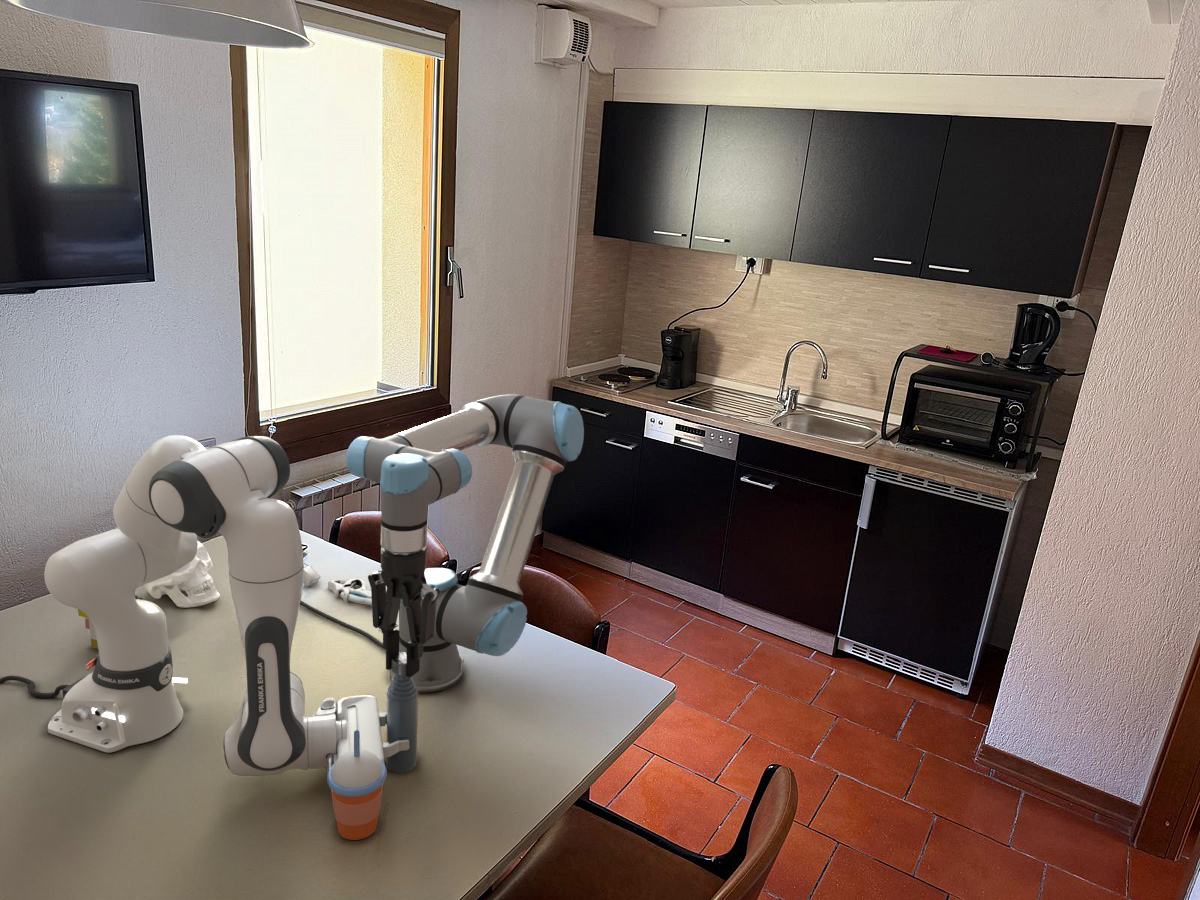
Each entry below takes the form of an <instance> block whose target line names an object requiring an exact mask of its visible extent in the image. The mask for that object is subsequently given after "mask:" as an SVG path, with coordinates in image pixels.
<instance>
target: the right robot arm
mask: <svg viewBox="0 0 1200 900" xmlns="http://www.w3.org/2000/svg"><path fill="white" fill-rule="evenodd" d="M584 437H585V427H584V420H583V415H582V414H581V412H580V410H578V408H577V407H576V406H574V405H570V404H566V403H562V402H561V401H553V400H548V399H542V398H536V397H532V396H526V395H523V394H518V393H517V394H516V393H507V394H499V395H493V396H489V397H485V398H481V399H477V400H474V401H471V402H469V403H466V404H465V405H463V406H462V407H461V409H460V410H459V411H458V412H455V413H451V414H449V415H447V416H443V417H440V418H437V419H435V420H432V421H429V422H427V423H423V424H421V425H418V426H414V427H412V428H409V429H407V430H404V431H401V432H398V433H395V434H393V435H389V436H386V437H384V438H377V437H374V436H366V435H365V436H364V435H362V436H358V437H356V438H355V439H354V440H353V441H352V442H351V443H350V445H349V446H348V448H347V450H346V456H345V458H346V461H345V464H346V465H345V466H346V468H347V470H348V471H349V473H350V474H351V475H353V476H355V477H358V478H360V479H364V480H365V481H369V482H374V483H379V487H380V511H381V512H380V513H381V516H380V540H379V541H380V547H381V548H380V569H381V570H380V569H377V570H376V571H374V572H372V573H370V574H368V575H367V580H368V583H369V585H370V591H371V597H372V606H371V614H372V615H371V617H372V626H373V627H374V628H375V629H379V630H380V631H381V634H382V641H380V640H379V639H377V638H376V637H375V636H373V635H372V634H370V633H368V632H367V631H365V630H364V629H363V630H362V629H361V628H359V627H357V626H354V625H351V624H350V623H347V622H345V621H342V620H341V619H338V618H336V617H333V616H332V615H329V614H327V613H325V612H323V611H321V610H319V609H318V608H315V607H313V606H312V605H310V604H308V603H306V602H305V601H303V600H301V601H300V607H302V608H305V609H307V610H308V611H310V612H312V613H314V614H315V615H318V616H320V617H321V618H323V619H326V620H327V621H330V622H331V623H335V624H337V625H339V626H341V627H343V628H346V629H348V630H350V631H353V632H354V633H357V634H360V635H361V636H363V637H365V638H367V639H368V640H369V641H371V642H372V643H374V644H375V645H376V646H378V647H379V648H381V649H383V650H385V670H387V671H389V679H390V681H392V680H393V678H394V676H395V673H393V672H392V669H391V661H392V657H393V655H395V654H397V653H401V652H407V662H406V677H409V678H410V677H412V679H413V680H414V682H415V685H416V686H417V690H418V694H430V693H431V694H432V693H438V692H441V691H445V690H447V689H450V688H451V687H453V686H455V685H456V684H457V683H458V682H459V681H460V680H461V679H462V676H463V672H464V663H465V657H463V658H462V657H461V656H460V653H459V649H458V646H459V647H461V648H466V649H469V650H472V651H475V652H476V653H478V654H482V655H483V654H485V655H488V656H492V657H501V656H503V655H505V654H507V653H509V652H510V651H511V649H512V648H514V646H516V644H517V643H518V642H519V640H520V638H521V637H522V634H523V632H524V629H525V627H526V625H527V624H526V623H527V620H528V618H527V615H528V608H527V606H526V604H524V603H523V601H522V600H523V596H524V592H523V590H522V588H521V586H520V582H521V580H522V577H523V573H524V570H525V568H526V565H527V560H528V558H529V555H530V551H531V549H532V545H533V542H534V540H535V537H536V533H537V530H538V527H539V524H540V521H541V518H542V515H543V512H544V509H545V505H546V502H547V500H548V496H549V493H550V491H551V487H552V484H553V480H554V478H555V476H556V475H558V474H559V473H561V472H563V471H564V470H565V468H566V463H567V462H573V461H576V460H577V459H578V457H579V456H580V454H581V453H582V449H583V444H584V439H585V438H584ZM488 445H495V446H497V445H498V446H502V447H506V448H511V449H512V450H511V453H510V454H511V455H512V458H513V459H514V463H515V464H514V467H513V469H512V473H511V476H510V478H509V481H508V484H507V488H506V489H505V494H504V496H503V499H502V502H501V505H500V508H499V511H498V515H497V517H496V520H495V523H494V526H493V530H492V532H491V535H490V538H489V541H488V543H487V547H486V550H485V552H484V555H483V559H482V561H481V564H480V567H479V570H478V571H477V572H476V573H474V574H472V575H471V576H469V577H468V580H467V583H466V585H462V584H459V583H458V580H459V579H458V575H457V574H456V572H455V571H454V570H452V569H450V568H445V567H428V568H427V566H428V565H427V563H428V548H427V545H428V511H429V506H430V505H432V504H434V503H436V502H438V501H441V500H442V499H445V498H446V497H449V496H451V495H455V494H457V493H459V491H460V490H461V489H463V488H464V487H466V486H467V485H468V484H469V483H470V482H471V480H472V476H473V467H472V463H471V461H470V459H469V457H468V456H467V455H466V453H464V452H463V450H466V449H468V448H471V447H477V448H482V447H486V446H488ZM397 621H398V624H397ZM397 627H398V629H396V628H397Z"/></svg>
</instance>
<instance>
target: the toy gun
mask: <svg viewBox="0 0 1200 900" xmlns="http://www.w3.org/2000/svg"><path fill="white" fill-rule="evenodd" d="M356 586H358V588H356V589H355V588H354V587H356ZM359 587H360V588H359ZM327 589H328V590H329V591H331V592H332V593H334V597H336V599H340V598H342V599H343V601H344V602H345V603H349V602H352V603H356V604H359V605H367V606H371V607H372V597H371V589H370V590H368V588H367V585H366V583H365V581H363V580H362V579H360V578H353V579H352V578H351V579H342V580H341V579H340V580H339V579H338V580H334V579H328V581H327Z"/></svg>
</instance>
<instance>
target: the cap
mask: <svg viewBox="0 0 1200 900" xmlns="http://www.w3.org/2000/svg"><path fill="white" fill-rule="evenodd" d="M406 662H407V652H401V653H397V654H395V655H393V657H392V661H391V669H392V672H393V673H395V674H398V675H406Z"/></svg>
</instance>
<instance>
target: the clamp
mask: <svg viewBox="0 0 1200 900" xmlns="http://www.w3.org/2000/svg"><path fill="white" fill-rule="evenodd" d="M304 566H306V567H304V579H303V585H305V587H309V586H312V585H314V584H316V583H318V582H319V580H320V579H321V578H322V577H321V575H320V574H319V573H318V572H317V570H315V569H314V568H313V566H312V565H310V564H309V565H308V564H307V563H305V562H304Z"/></svg>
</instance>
